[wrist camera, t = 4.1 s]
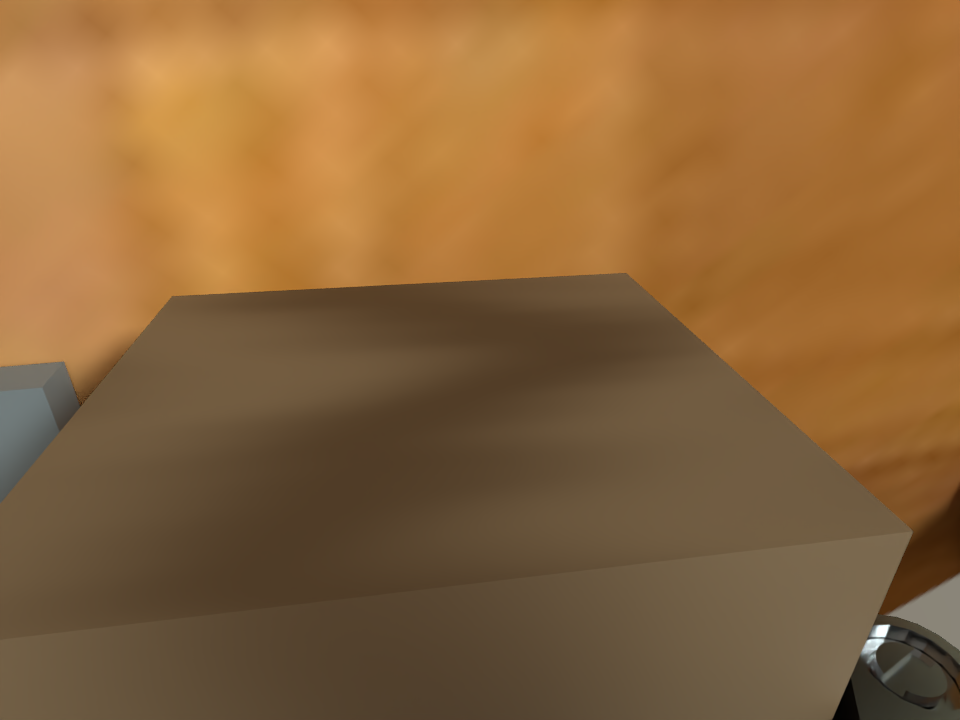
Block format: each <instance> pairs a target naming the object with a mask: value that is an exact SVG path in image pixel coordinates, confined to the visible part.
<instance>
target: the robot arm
mask: <svg viewBox="0 0 960 720" xmlns="http://www.w3.org/2000/svg"><path fill="white" fill-rule="evenodd" d="M832 720H960V651H959V650H958V649H957V648H955V647H954V646H952V645H951V644H950V643H948V642H947V641H946V640H944V639H943V638H942V637H940V636H939V635H937V634H936V633H934V632H932V631H930V630H928V629H926V628H924V627H922V626H920V625H918V624H916V623H913V622H910V621H907V620H904V619H901V618H898V617H892V616H885V615H877V617H876V619H875V621H874V624H873V626H872V628H871V631H870V633H869V635H868V638H867V640H866V642H865V645H864V647H863V649H862V652H861V654H860V656H859V659H858V661H857V663H856V666H855V668H854V670H853V672H852V675H851V677H850V679H849V682H848V684H847V686H846V689H845V691H844V693H843V696H842V698H841V700H840V703H839V705H838V707H837V710H836V712H835V714H834V717H833V719H832Z"/></svg>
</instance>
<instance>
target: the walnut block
mask: <svg viewBox="0 0 960 720" xmlns="http://www.w3.org/2000/svg"><path fill="white" fill-rule="evenodd" d="M912 533H913V531H912V530H911V529H910V528H909V527H908V526H907V525H906V524H905V523H904V522H902V521H901V520H900V519H899V518H898V517H897V516H896V515H895V514H894V513H892V512H891V511H890V510H889V509H888V508H887V507H886V506H885V505H884V504H882V503H881V502H880V501H879V500H878V499H877V498H876V497H875V496H873V495H872V494H871V493H870V492H869V491H868V490H867V489H866V488H865V487H863V486H862V485H861V484H860V483H859V482H858V481H857V480H856V479H855V478H853V477H852V476H851V475H850V474H849V473H848V472H847V471H846V470H845V469H843V468H842V467H841V466H840V465H839V464H838V463H837V462H836V461H835V460H833V459H832V458H831V457H830V456H829V455H828V454H827V453H826V452H825V451H823V450H822V449H821V448H820V447H819V446H818V445H817V444H816V443H815V442H813V441H812V440H811V439H810V438H809V437H808V436H807V435H806V434H805V433H803V432H802V431H801V430H800V429H799V428H798V427H797V426H796V425H795V424H793V423H792V422H791V421H790V420H789V419H788V418H787V417H786V416H785V415H783V414H782V413H781V412H780V411H779V410H778V409H777V408H776V407H775V406H773V405H772V404H771V403H770V402H769V401H768V400H767V399H766V398H765V397H763V396H762V395H761V394H760V393H759V392H758V391H757V390H756V389H755V388H753V387H752V386H751V385H750V384H749V383H748V382H747V381H746V380H744V379H743V378H742V377H741V376H740V375H739V374H738V373H737V372H736V371H734V370H733V369H732V368H731V367H730V366H729V365H728V364H727V363H726V362H724V361H723V360H722V359H721V358H720V357H719V356H718V355H717V354H716V353H714V352H713V351H712V350H711V349H710V348H709V347H708V346H707V345H706V344H704V343H703V342H702V341H701V340H700V339H699V338H698V337H697V336H696V335H694V334H693V333H692V332H691V331H690V330H689V329H688V328H687V327H686V326H684V325H683V324H682V323H681V322H680V321H679V320H678V319H677V318H676V317H674V316H673V315H672V314H671V313H670V312H669V311H668V310H667V309H666V308H664V307H663V306H662V305H661V304H660V303H659V302H658V301H657V300H656V299H654V298H653V297H652V296H651V295H650V294H649V293H648V292H647V291H646V290H644V289H643V288H642V287H641V286H640V285H639V284H638V283H637V282H636V281H634V280H633V279H632V278H631V277H630V276H629V275H628V274H627V273H618V274H598V275H579V276H559V277H540V278H520V279H501V280H481V281H462V282H443V283H423V284H404V285H384V286H365V287H345V288H326V289H306V290H287V291H267V292H248V293H228V294H209V295H189V296H172V297H171V298H170V300H169V301H168V302H167V303H166V304H165V306H164V307H163V308H162V309H161V310H160V312H159V313H158V314H157V315H156V316H155V318H154V319H153V320H152V321H151V322H150V324H149V325H148V326H147V327H146V328H145V330H144V331H143V332H142V333H141V335H140V336H139V337H138V338H137V339H136V341H135V342H134V343H133V344H132V345H131V347H130V348H129V349H128V350H127V351H126V353H125V354H124V355H123V356H122V357H121V359H120V360H119V361H118V362H117V363H116V365H115V366H114V367H113V368H112V369H111V371H110V372H109V373H108V374H107V376H106V377H105V378H104V379H103V380H102V382H101V383H100V384H99V385H98V386H97V388H96V389H95V390H94V391H93V392H92V394H91V395H90V396H89V397H88V398H87V400H86V401H85V402H84V403H83V404H82V406H81V407H80V408H79V409H78V411H77V412H76V413H75V414H74V415H73V417H72V418H71V419H70V420H69V421H68V423H67V424H66V425H65V426H64V427H63V429H62V430H61V431H60V432H59V433H58V435H57V436H56V437H55V438H54V439H53V441H52V442H51V443H50V444H49V445H48V447H47V448H46V449H45V450H44V452H43V453H42V454H41V455H40V456H39V458H38V459H37V460H36V461H35V462H34V464H33V465H32V466H31V467H30V468H29V470H28V471H27V472H26V473H25V474H24V476H23V477H22V478H21V479H20V480H19V482H18V483H17V484H16V485H15V487H14V488H13V489H12V490H11V491H10V493H9V494H8V495H7V496H6V497H5V499H4V500H3V501H2V502H1V503H0V720H832V719H833V717H834V714H835V712H836V710H837V707H838V705H839V703H840V700H841V698H842V696H843V693H844V691H845V689H846V686H847V684H848V682H849V679H850V677H851V675H852V672H853V670H854V668H855V666H856V663H857V661H858V659H859V656H860V654H861V652H862V649H863V647H864V645H865V642H866V640H867V638H868V635H869V633H870V631H871V628H872V626H873V624H874V621H875V619H876V617H877V615H878V612H879V610H880V608H881V605H882V603H883V601H884V598H885V596H886V594H887V591H888V589H889V587H890V584H891V582H892V580H893V577H894V575H895V573H896V570H897V568H898V566H899V564H900V561H901V559H902V557H903V554H904V552H905V550H906V547H907V545H908V543H909V540H910V538H911V536H912Z"/></svg>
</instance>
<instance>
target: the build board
mask: <svg viewBox="0 0 960 720" xmlns="http://www.w3.org/2000/svg"><path fill="white" fill-rule="evenodd" d="M79 408H80V405H79V402H78V399H77V396H76V394H75V391H74V388H73V385H72V383H71V380H70V377H69V374H68V372H67V369H66V366H65V363H64V362H55V363H43V364H31V365H20V366H8V367H0V503H1V502H2V501H3V500H4V499H5V497H6V496H7V495H8V494H9V493H10V491H11V490H12V489H13V488H14V487H15V485H16V484H17V483H18V482H19V480H20V479H21V478H22V477H23V476H24V474H25V473H26V472H27V471H28V470H29V468H30V467H31V466H32V465H33V464H34V462H35V461H36V460H37V459H38V458H39V456H40V455H41V454H42V453H43V452H44V450H45V449H46V448H47V447H48V445H49V444H50V443H51V442H52V441H53V439H54V438H55V437H56V436H57V435H58V433H59V432H60V431H61V430H62V429H63V427H64V426H65V425H66V424H67V423H68V421H69V420H70V419H71V418H72V417H73V415H74V414H75V413H76V412H77V411H78V409H79Z"/></svg>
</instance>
